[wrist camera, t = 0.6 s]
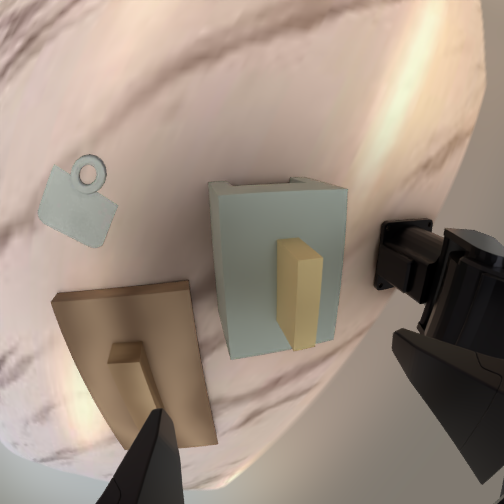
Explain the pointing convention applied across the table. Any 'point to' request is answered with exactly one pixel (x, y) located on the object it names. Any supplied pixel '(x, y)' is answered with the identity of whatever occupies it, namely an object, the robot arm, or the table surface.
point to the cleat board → (161, 345)
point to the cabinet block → (277, 263)
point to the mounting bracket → (78, 203)
